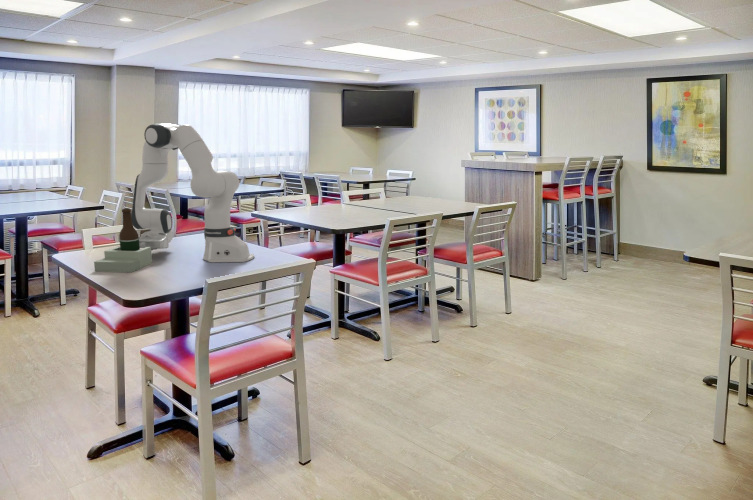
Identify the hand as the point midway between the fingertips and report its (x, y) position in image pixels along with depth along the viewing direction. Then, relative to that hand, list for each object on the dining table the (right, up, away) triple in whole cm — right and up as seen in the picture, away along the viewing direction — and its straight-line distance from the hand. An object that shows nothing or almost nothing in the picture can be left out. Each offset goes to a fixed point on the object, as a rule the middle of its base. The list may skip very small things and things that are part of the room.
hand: (134, 246), depth 262 cm
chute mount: (-1, -9, -8) cm, 12 cm away
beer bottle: (-1, -8, -2) cm, 8 cm away
